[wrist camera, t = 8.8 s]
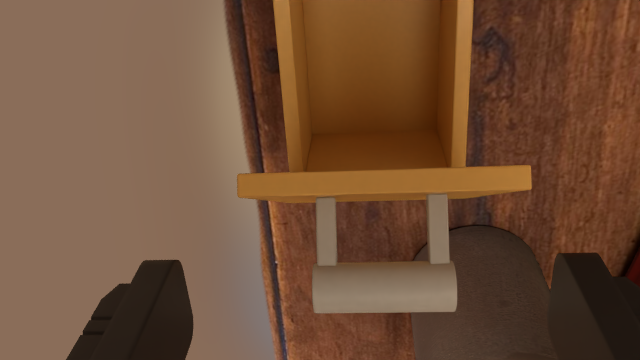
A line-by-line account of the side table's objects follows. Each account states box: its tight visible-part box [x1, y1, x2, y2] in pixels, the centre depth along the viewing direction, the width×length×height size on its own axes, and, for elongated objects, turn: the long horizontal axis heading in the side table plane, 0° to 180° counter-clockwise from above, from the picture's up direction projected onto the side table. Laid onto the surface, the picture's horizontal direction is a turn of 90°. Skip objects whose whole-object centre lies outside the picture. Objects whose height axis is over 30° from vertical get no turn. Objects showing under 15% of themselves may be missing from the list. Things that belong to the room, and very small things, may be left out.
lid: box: [237, 165, 532, 313], centre depth 26 cm, size 13×10×5 cm
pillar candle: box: [411, 226, 558, 360], centre depth 38 cm, size 10×10×15 cm
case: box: [273, 0, 474, 172], centre depth 34 cm, size 13×10×7 cm
